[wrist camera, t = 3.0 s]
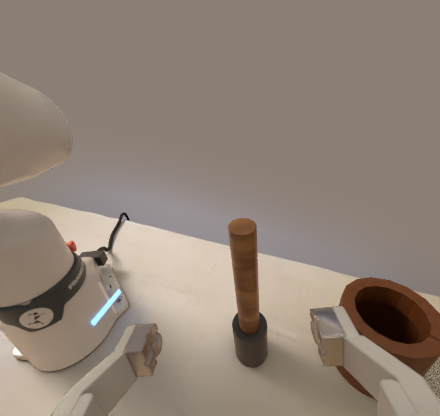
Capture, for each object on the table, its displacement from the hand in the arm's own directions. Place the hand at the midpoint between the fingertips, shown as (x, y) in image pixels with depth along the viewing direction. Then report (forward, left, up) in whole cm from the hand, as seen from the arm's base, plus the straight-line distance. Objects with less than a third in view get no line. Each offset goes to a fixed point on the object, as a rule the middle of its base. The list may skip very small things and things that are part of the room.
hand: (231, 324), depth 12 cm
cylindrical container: (0, +20, -26) cm, 33 cm away
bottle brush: (-9, +6, -26) cm, 28 cm away
